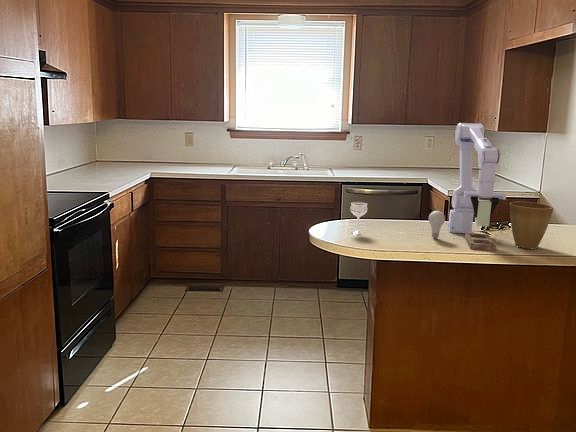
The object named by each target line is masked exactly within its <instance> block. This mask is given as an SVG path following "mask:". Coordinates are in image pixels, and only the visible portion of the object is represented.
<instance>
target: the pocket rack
mask: <svg viewBox="0 0 576 432" xmlns="http://www.w3.org/2000/svg"><path fill="white" fill-rule="evenodd" d="M464 239H465V242H466V243H467V245H468V247H469V249H470V250H478V249H480V250H479V251H491V250H492V251H494V252H495V251H496V248H497V247H496V244H495V242H494V241H493V239H492V238H491V236H490V235H489V233H488V234H487V233H475V232H474V233H464ZM492 251H491V252H492Z"/></svg>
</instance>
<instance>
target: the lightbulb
mask: <svg viewBox="0 0 576 432" xmlns="http://www.w3.org/2000/svg"><path fill="white" fill-rule="evenodd" d="M445 221H446V216H445V214H444V212H442V211H440V210H434V211H433V210H432V211H431V213H429V215H428V222H429V224H430V227H431V228H430V229H431V237H432V238H433V239H438V238H439V236H440V232H441V228H442V226H443V225H444V224H445Z"/></svg>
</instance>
